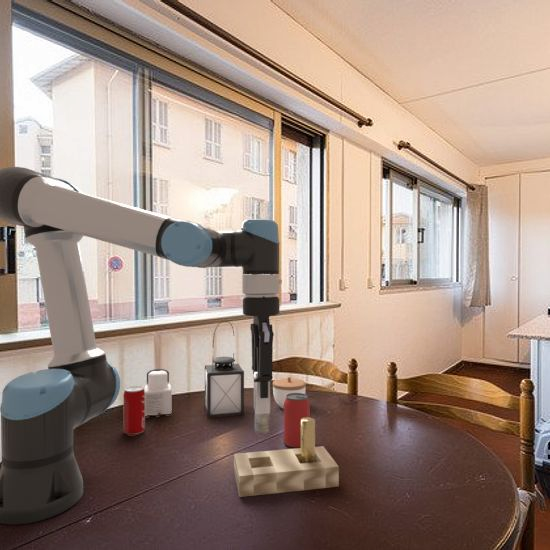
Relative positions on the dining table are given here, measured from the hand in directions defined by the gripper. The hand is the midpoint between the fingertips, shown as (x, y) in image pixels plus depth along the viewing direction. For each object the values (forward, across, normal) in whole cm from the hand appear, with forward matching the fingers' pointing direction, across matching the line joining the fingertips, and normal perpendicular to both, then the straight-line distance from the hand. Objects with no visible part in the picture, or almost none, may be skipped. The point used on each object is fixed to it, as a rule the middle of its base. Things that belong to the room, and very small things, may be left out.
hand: (261, 410), depth 85 cm
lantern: (+15, +46, +4) cm, 49 cm away
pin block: (+15, 0, -5) cm, 15 cm away
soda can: (+15, +33, +29) cm, 47 cm away
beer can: (+15, +17, -12) cm, 26 cm away
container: (+15, +48, +24) cm, 56 cm away
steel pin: (+4, 0, 0) cm, 4 cm away
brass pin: (+15, 0, -10) cm, 18 cm away
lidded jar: (+15, +46, -17) cm, 51 cm away
